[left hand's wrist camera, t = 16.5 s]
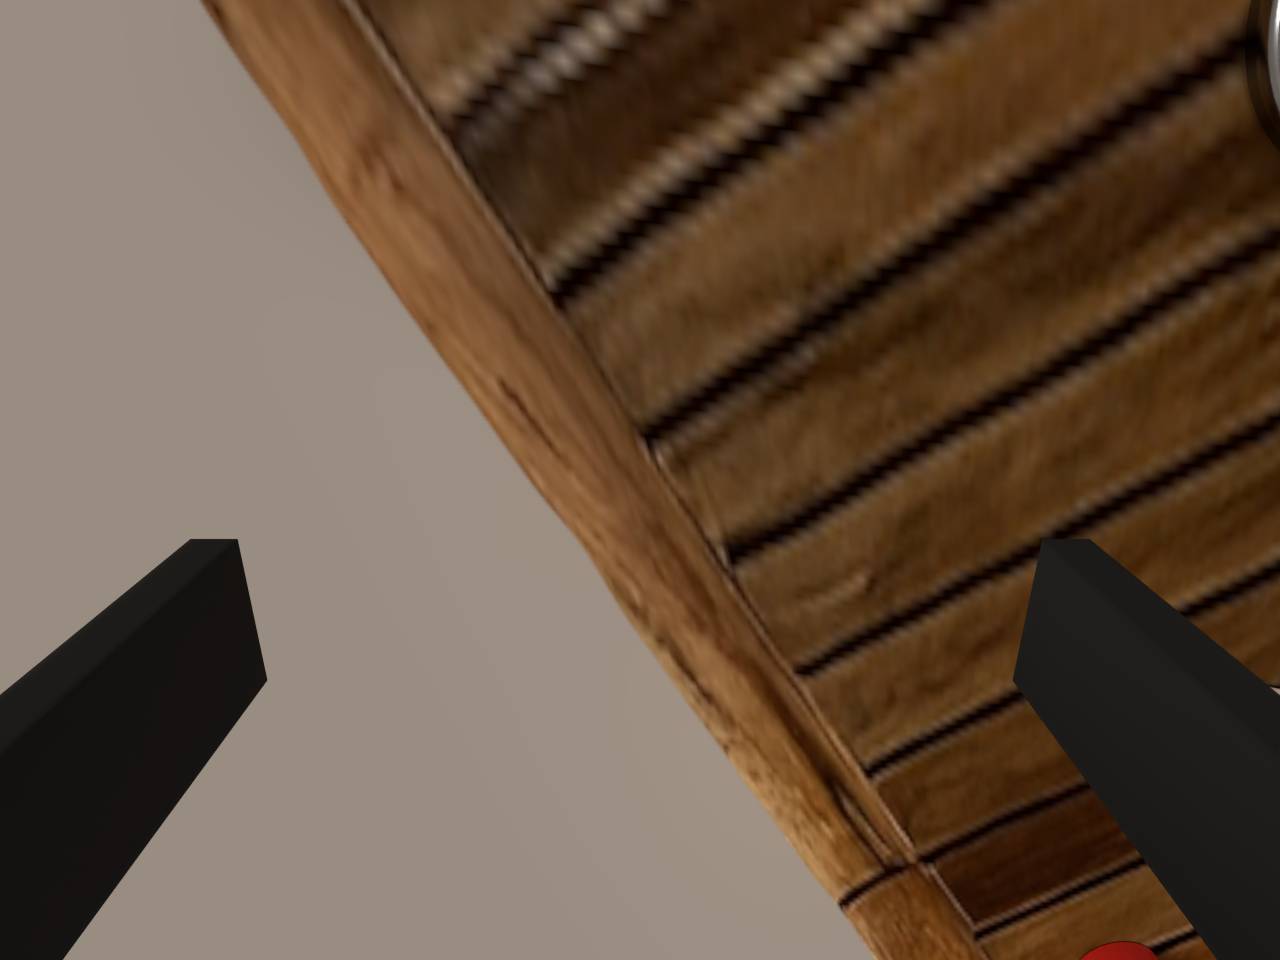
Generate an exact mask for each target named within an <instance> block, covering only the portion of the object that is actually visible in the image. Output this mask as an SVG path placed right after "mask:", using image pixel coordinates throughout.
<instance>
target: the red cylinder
mask: <svg viewBox="0 0 1280 960" xmlns="http://www.w3.org/2000/svg"><path fill="white" fill-rule="evenodd" d="M1081 960H1158V959H1157V957H1156V956H1155V954H1154V953H1153V952H1152V951H1151V950H1150V949H1148V948H1147V947H1145V946H1143V945H1141V944H1138V943H1133V942H1115V943H1110V944H1106V945H1103V946H1100V947H1098V948H1096V949H1094V950H1092V951H1090V952H1089V953H1087V954H1086V955H1085V956H1084V957H1083V958H1081Z"/></svg>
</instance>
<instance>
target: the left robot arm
mask: <svg viewBox="0 0 1280 960" xmlns="http://www.w3.org/2000/svg"><path fill="white" fill-rule="evenodd" d="M1245 60H1246V73H1247V81H1248V87H1249V91H1250V95H1251V99H1252V103H1253V105H1254V108H1255V111H1256V114H1257V116H1258V118H1259V120H1260V122H1261V124H1262V127H1263V129H1264V130H1265V132H1266V133H1267V135H1268V136H1269V138H1270V139H1271V141H1272V142H1273V144H1274V145H1275V146H1276V147H1277V148H1278V149H1279V151H1280V0H1251V4H1250V9H1249V15H1248V21H1247V28H1246V43H1245ZM266 681H267V676H266V672H265V667H264V662H263V657H262V653H261V648H260V643H259V638H258V634H257V629H256V625H255V619H254V615H253V610H252V605H251V601H250V596H249V591H248V586H247V582H246V577H245V572H244V567H243V563H242V558H241V553H240V549H239V544H238V539H190V540H189V541H188V542H186V543H185V544H184V545H183V546H182V547H180V548H179V549H178V550H177V551H175V552H174V553H173V554H172V555H171V556H169V557H168V558H167V559H166V560H164V561H163V562H162V563H161V564H160V565H158V566H157V567H156V568H155V569H153V570H152V571H151V572H150V573H149V574H147V575H146V576H145V577H144V578H142V579H141V580H140V581H139V582H138V583H136V584H135V585H134V586H133V587H131V588H130V589H129V590H128V591H127V592H125V593H124V594H123V595H122V596H120V597H119V598H118V599H117V600H116V601H114V602H113V603H112V604H111V605H109V606H108V607H107V608H106V609H105V610H103V611H102V612H101V613H100V614H98V615H97V616H96V617H95V618H94V619H92V620H91V621H90V622H89V623H88V624H86V625H85V626H84V627H83V628H81V629H80V630H79V631H78V632H76V633H75V634H74V635H73V636H72V637H70V638H69V639H68V640H67V641H65V642H64V643H63V644H62V645H61V646H59V647H58V648H57V649H56V650H54V651H53V652H52V653H51V654H50V655H48V656H47V657H46V658H45V659H43V660H42V661H41V662H40V663H39V664H37V665H36V666H35V667H34V668H32V669H31V670H30V671H29V672H28V673H26V674H25V675H24V676H23V677H21V678H20V679H19V680H18V681H17V682H15V683H14V684H13V685H12V686H10V687H9V688H8V689H7V690H6V691H4V692H3V693H2V694H1V695H0V960H63V959H64V957H65V956H66V955H67V953H68V952H69V950H70V949H71V948H72V946H73V945H74V944H75V942H76V941H77V939H78V938H79V937H80V935H81V934H82V933H83V931H84V930H85V929H86V927H87V926H88V925H89V923H90V922H91V920H92V919H93V918H94V916H95V915H96V914H97V912H98V911H99V910H100V908H101V907H102V905H103V904H104V903H105V901H106V900H107V899H108V897H109V896H110V894H111V893H112V892H113V890H114V889H115V888H116V886H117V885H118V884H119V882H120V881H121V879H122V878H123V877H124V875H125V874H126V873H127V871H128V870H129V869H130V867H131V866H132V864H133V863H134V862H135V860H136V859H137V858H138V856H139V855H140V854H141V852H142V851H143V849H144V848H145V847H146V845H147V844H148V843H149V841H150V840H151V838H152V837H153V836H154V834H155V833H156V832H157V830H158V829H159V828H160V826H161V825H162V823H163V822H164V821H165V819H166V818H167V817H168V815H169V814H170V812H171V811H172V810H173V808H174V807H175V806H176V804H177V803H178V802H179V800H180V799H181V798H182V796H183V795H184V793H185V792H186V791H187V789H188V788H189V787H190V785H191V784H192V782H193V781H194V780H195V778H196V777H197V776H198V774H199V773H200V772H201V770H202V769H203V767H204V766H205V765H206V763H207V762H208V761H209V759H210V758H211V756H212V755H213V754H214V752H215V751H216V750H217V748H218V747H219V746H220V744H221V743H222V742H223V740H224V739H225V737H226V736H227V735H228V733H229V732H230V731H231V729H232V728H233V726H234V725H235V724H236V722H237V721H238V720H239V718H240V717H241V716H242V714H243V713H244V711H245V710H246V709H247V707H248V706H249V705H250V703H251V702H252V701H253V699H254V698H255V696H256V695H257V694H258V692H259V691H260V690H261V688H262V687H263V686H264V684H265V683H266ZM1013 681H1014V683H1015V684H1016V686H1017V687H1018V688H1019V690H1020V691H1021V692H1022V694H1023V695H1024V696H1025V698H1026V699H1027V701H1028V702H1029V703H1030V705H1031V706H1032V707H1033V709H1034V710H1035V711H1036V713H1037V714H1038V716H1039V717H1040V718H1041V720H1042V721H1043V722H1044V724H1045V725H1046V726H1047V728H1048V729H1049V731H1050V732H1051V733H1052V735H1053V736H1054V737H1055V739H1056V740H1057V742H1058V743H1059V744H1060V746H1061V747H1062V748H1063V750H1064V751H1065V752H1066V754H1067V755H1068V757H1069V758H1070V759H1071V761H1072V762H1073V763H1074V765H1075V766H1076V767H1077V769H1078V770H1079V772H1080V773H1081V774H1082V776H1083V777H1084V778H1085V780H1086V781H1087V782H1088V784H1089V785H1090V787H1091V788H1092V789H1093V791H1094V792H1095V793H1096V795H1097V796H1098V798H1099V799H1100V800H1101V802H1102V803H1103V804H1104V806H1105V807H1106V808H1107V810H1108V811H1109V813H1110V814H1111V815H1112V817H1113V818H1114V819H1115V821H1116V822H1117V823H1118V825H1119V826H1120V828H1121V829H1122V830H1123V832H1124V833H1125V834H1126V836H1127V837H1128V838H1129V840H1130V841H1131V843H1132V844H1133V845H1134V847H1135V848H1136V849H1137V851H1138V852H1139V854H1140V855H1141V856H1142V858H1143V859H1144V860H1145V862H1146V863H1147V864H1148V866H1149V867H1150V869H1151V870H1152V871H1153V873H1154V874H1155V875H1156V877H1157V878H1158V879H1159V881H1160V882H1161V884H1162V885H1163V886H1164V888H1165V889H1166V890H1167V892H1168V893H1169V895H1170V896H1171V897H1172V899H1173V900H1174V901H1175V903H1176V904H1177V905H1178V907H1179V908H1180V910H1181V911H1182V912H1183V914H1184V915H1185V916H1186V918H1187V919H1188V920H1189V922H1190V923H1191V925H1192V926H1193V927H1194V929H1195V930H1196V931H1197V933H1198V934H1199V935H1200V937H1201V938H1202V940H1203V941H1204V942H1205V944H1206V945H1207V946H1208V948H1209V949H1210V951H1211V952H1212V953H1213V955H1214V956H1215V957H1216V959H1217V960H1280V695H1279V694H1278V693H1277V692H1276V691H1274V690H1273V689H1272V688H1271V687H1270V686H1268V685H1267V684H1266V683H1265V682H1263V681H1262V680H1261V679H1260V678H1259V677H1257V676H1256V675H1255V674H1254V673H1252V672H1251V671H1250V670H1249V669H1248V668H1246V667H1245V666H1244V665H1243V664H1241V663H1240V662H1239V661H1238V660H1237V659H1235V658H1234V657H1233V656H1232V655H1230V654H1229V653H1228V652H1227V651H1226V650H1224V649H1223V648H1222V647H1221V646H1219V645H1218V644H1217V643H1216V642H1215V641H1213V640H1212V639H1211V638H1210V637H1208V636H1207V635H1206V634H1205V633H1204V632H1202V631H1201V630H1200V629H1199V628H1197V627H1196V626H1195V625H1194V624H1193V623H1191V622H1190V621H1189V620H1188V619H1186V618H1185V617H1184V616H1183V615H1182V614H1180V613H1179V612H1178V611H1177V610H1175V609H1174V608H1173V607H1172V606H1171V605H1169V604H1168V603H1167V602H1166V601H1164V600H1163V599H1162V598H1161V597H1160V596H1158V595H1157V594H1156V593H1155V592H1153V591H1152V590H1151V589H1150V588H1149V587H1147V586H1146V585H1145V584H1144V583H1142V582H1141V581H1140V580H1139V579H1138V578H1136V577H1135V576H1134V575H1133V574H1131V573H1130V572H1129V571H1128V570H1127V569H1125V568H1124V567H1123V566H1122V565H1120V564H1119V563H1118V562H1117V561H1116V560H1114V559H1113V558H1112V557H1111V556H1109V555H1108V554H1107V553H1106V552H1105V551H1103V550H1102V549H1101V548H1100V547H1098V546H1097V545H1096V544H1095V543H1094V542H1092V541H1091V540H1090V539H1042V544H1041V549H1040V553H1039V558H1038V563H1037V567H1036V572H1035V577H1034V582H1033V586H1032V591H1031V596H1030V601H1029V605H1028V610H1027V615H1026V619H1025V624H1024V629H1023V634H1022V638H1021V643H1020V648H1019V653H1018V657H1017V662H1016V667H1015V671H1014V676H1013Z"/></svg>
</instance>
